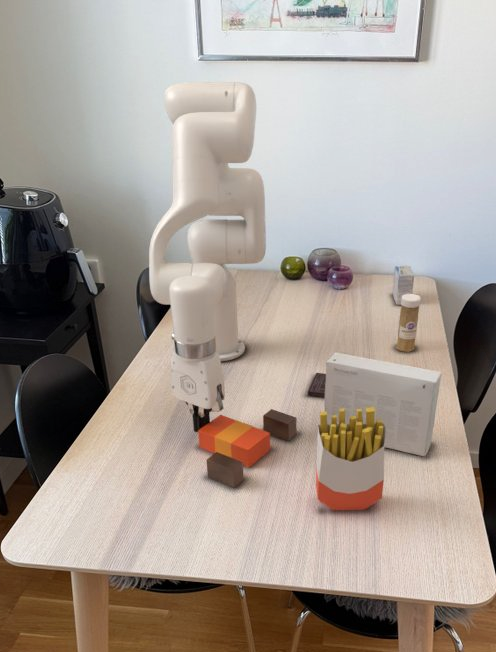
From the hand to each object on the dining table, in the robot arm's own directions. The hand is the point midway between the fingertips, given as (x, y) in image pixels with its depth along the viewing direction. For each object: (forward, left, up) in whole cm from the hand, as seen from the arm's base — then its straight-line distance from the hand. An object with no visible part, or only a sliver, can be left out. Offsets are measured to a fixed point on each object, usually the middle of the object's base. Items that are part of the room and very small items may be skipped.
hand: (202, 429), depth 133 cm
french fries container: (+34, -3, -2) cm, 34 cm away
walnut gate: (+12, 0, -2) cm, 12 cm away
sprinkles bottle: (+17, +58, -2) cm, 61 cm away
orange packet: (+8, 0, -2) cm, 8 cm away
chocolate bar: (+16, +32, -2) cm, 36 cm away
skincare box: (+29, +18, -2) cm, 35 cm away
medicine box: (+3, +86, -2) cm, 86 cm away
